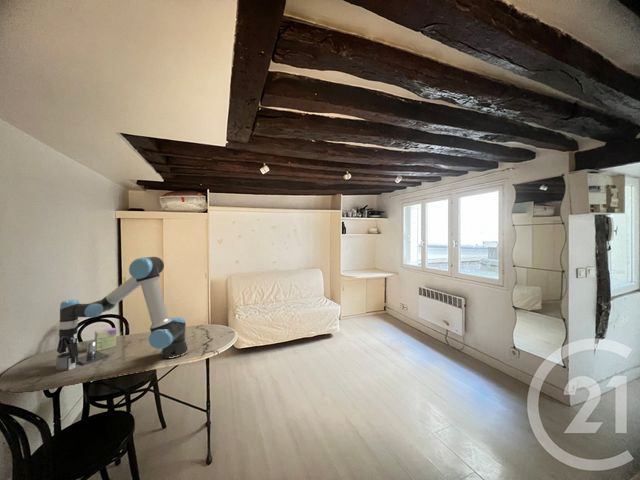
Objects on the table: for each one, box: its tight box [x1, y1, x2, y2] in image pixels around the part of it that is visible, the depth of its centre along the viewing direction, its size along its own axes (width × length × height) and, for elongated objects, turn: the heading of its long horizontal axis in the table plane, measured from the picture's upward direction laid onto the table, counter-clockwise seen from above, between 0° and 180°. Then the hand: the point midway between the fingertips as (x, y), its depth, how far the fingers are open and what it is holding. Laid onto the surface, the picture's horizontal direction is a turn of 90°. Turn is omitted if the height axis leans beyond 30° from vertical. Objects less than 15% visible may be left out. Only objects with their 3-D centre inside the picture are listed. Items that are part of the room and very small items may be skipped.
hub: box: [55, 351, 79, 372], centre depth 143 cm, size 8×8×7 cm
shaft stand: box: [78, 340, 109, 366], centre depth 153 cm, size 12×12×10 cm
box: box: [94, 327, 118, 352], centre depth 170 cm, size 10×6×12 cm, turn 145°
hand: (66, 366), depth 143 cm, fingers open, 10 cm apart
